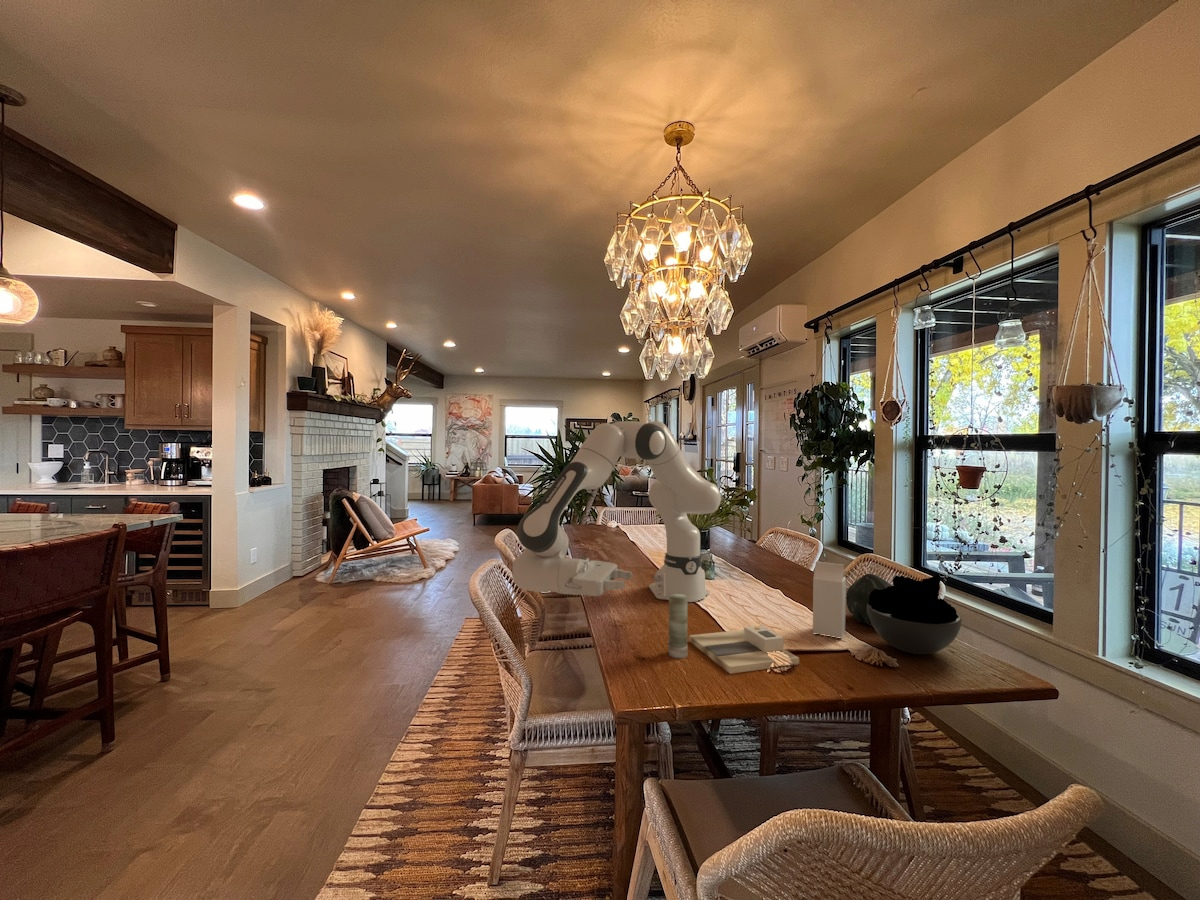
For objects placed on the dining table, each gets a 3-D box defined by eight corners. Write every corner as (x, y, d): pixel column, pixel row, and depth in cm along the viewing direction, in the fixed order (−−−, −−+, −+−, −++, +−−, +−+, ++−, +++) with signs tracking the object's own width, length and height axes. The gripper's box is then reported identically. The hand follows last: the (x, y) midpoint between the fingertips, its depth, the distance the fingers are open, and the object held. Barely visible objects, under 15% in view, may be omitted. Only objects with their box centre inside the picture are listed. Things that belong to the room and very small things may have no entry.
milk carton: (841, 640, 136) (842, 567, 136) (812, 634, 140) (813, 563, 140) (845, 631, 142) (845, 562, 142) (817, 626, 146) (817, 559, 146)
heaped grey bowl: (873, 661, 123) (874, 581, 123) (861, 632, 142) (861, 563, 142) (974, 673, 116) (974, 589, 116) (946, 642, 135) (947, 569, 135)
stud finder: (744, 638, 132) (744, 626, 132) (761, 636, 134) (761, 624, 134) (765, 652, 124) (765, 638, 124) (783, 650, 125) (783, 636, 125)
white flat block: (689, 641, 135) (689, 634, 135) (750, 634, 140) (750, 628, 140) (730, 673, 116) (730, 666, 116) (799, 664, 121) (799, 657, 121)
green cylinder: (665, 651, 128) (665, 594, 128) (682, 649, 129) (682, 593, 129) (673, 659, 124) (673, 600, 123) (690, 657, 125) (691, 598, 125)
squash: (901, 597, 156) (866, 559, 157) (923, 615, 142) (884, 572, 143) (862, 626, 159) (828, 588, 160) (880, 647, 144) (842, 604, 145)
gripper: (561, 573, 122) (620, 577, 119) (584, 556, 142) (635, 559, 139) (561, 600, 122) (619, 605, 119) (584, 579, 142) (634, 583, 139)
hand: (628, 580), depth 129 cm, fingers open, 8 cm apart
